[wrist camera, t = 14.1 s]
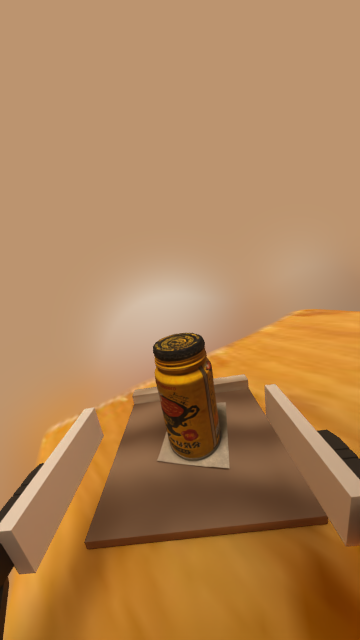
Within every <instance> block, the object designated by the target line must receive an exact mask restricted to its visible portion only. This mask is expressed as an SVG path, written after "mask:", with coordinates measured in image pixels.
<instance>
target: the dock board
mask: <svg viewBox="0 0 360 640" xmlns="http://www.w3.org/2000/svg"><path fill="white" fill-rule="evenodd" d="M213 381H214V389H215V396H216V403H220V402H226V416H227V433H228V450H229V467H230V469H229V468H221V467H205V466H195V465H185V464H177V463H169V462H163V461H157V459H158V457H159V454H160V451H161V447H162V445H163V441H164V438H165V435H166V432H167V429H166V426H165V420H164V416H163V411H162V408H161V402H160V398H159V393H158V390H157V387H152V388H145V389H138V390H135V391H134V393H133V400H134V407H133V410H132V412H131V415H130V418H129V421H128V424H127V426H126V429H125V432H124V435H123V437H122V440H121V443H120V446H119V448H118V451H117V454H116V457H115V459H114V462H113V465H112V468H111V470H110V473H109V476H108V479H107V481H106V484H105V487H104V490H103V492H102V495H101V498H100V501H99V503H98V506H97V509H96V512H95V514H94V517H93V520H92V523H91V525H90V528H89V531H88V534H87V536H86V539H85V542H84V543H85V545H86V547H87V549H94V548H103V547H112V546H122V545H131V544H140V543H150V542H159V541H168V540H178V539H187V538H196V537H206V536H215V535H224V534H234V533H243V532H252V531H262V530H271V529H281V528H290V527H299V526H309V525H318V524H327V523H328V516H327V515H326V513H325V511H324V510H323V508H322V506H321V505H320V503H319V502H318V500H317V498H316V497H315V495H314V493H313V492H312V490H311V489H310V487H309V485H308V484H307V482H306V480H305V479H304V477H303V476H302V474H301V472H300V471H299V469H298V467H297V466H296V464H295V462H294V461H293V459H292V458H291V456H290V454H289V453H288V451H287V449H286V448H285V446H284V445H283V443H282V441H281V440H280V438H279V436H278V435H277V433H276V432H275V430H274V428H273V427H272V425H271V424H270V422H269V420H268V419H267V417H266V416H265V414H264V412H263V411H262V409H261V408H260V406H259V404H258V403H257V401H256V400H255V398H254V396H253V395H252V393H251V392H250V390H249V388H248V379H247V378H246V376H245V375H237V376H230V377H223V378H216V379H213Z"/></svg>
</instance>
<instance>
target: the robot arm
mask: <svg viewBox="0 0 360 640" xmlns="http://www.w3.org/2000/svg"><path fill="white" fill-rule="evenodd" d="M265 404H266V417H267V418H268V420H269V422H270V423H271V425H272V427H273V428H274V430H275V431H276V433H277V435H278V436H279V438H280V440H281V441H282V443H283V445H284V446H285V448H286V449H287V451H288V453H289V454H290V456H291V458H292V459H293V461H294V462H295V464H296V466H297V467H298V469H299V471H300V472H301V474H302V476H303V477H304V479H305V480H306V482H307V484H308V485H309V487H310V489H311V490H312V492H313V493H314V495H315V497H316V498H317V500H318V502H319V503H320V505H321V506H322V508H323V510H324V511H325V513H326V515H327V516H328V518H329V520H330V521H331V523H332V524H333V526H334V528H335V529H336V531H337V533H338V534H339V536H340V537H341V539H342V541H343V542H344V544H345V546H357V545H360V459H359V458H358V456H357V455H356V454H355V453H354V452H353V451H352V450H350V449H349V447H348V446H347V445H346V444H345V443H344V442H343V441H342V440H341V439H340V438H339V437H337V436H336V435H334V434H333V433H331V432H330V431H328V430H320V431H316V430H315V429H314V427H313V426H312V425H311V424H310V423H309V422H308V421H307V420H306V418H305V417H304V416H303V415H302V414H301V413H300V412H299V410H298V409H297V408H296V407H295V406H294V405H293V404H292V403H291V401H290V400H289V399H288V398H287V397H286V396H285V395H284V394H283V392H282V391H281V390H280V389H279V388H278V387H277V386H276V385H275V384H272V385H265ZM102 438H103V433H102V430H101V427H100V423H99V420H98V417H97V414H96V411H95V408H88V409H84V411H83V412H82V413H81V415H80V416H79V417H78V419H77V420H76V422H75V423H74V424H73V426H72V427H71V428H70V430H69V431H68V432H67V434H66V435H65V436H64V438H63V439H62V440H61V442H60V443H59V444H58V446H57V447H56V448H55V450H54V451H53V452H52V454H51V455H50V456H49V458H48V459H47V461H46V462H45V463H42V464H39V465H38V466H37V467H36V468H35V469H34V470H33V471H32V472H31V473H30V474H29V475H28V476H27V478H26V479H25V480H24V482H23V483H22V484H21V486H20V487H19V488H18V489H17V491H16V492H15V493H14V495H13V497H11V498H10V499H9V501H8V502H7V503H6V505H5V506H4V507H3V508H2V510H1V511H0V640H3V632H4V624H5V615H6V606H7V597H8V589H9V580H8V575H9V573H10V572H11V570H12V568H13V567H15V568H16V570H17V572H18V573H19V574H27V573H36V571H37V569H38V567H39V565H40V563H41V561H42V559H43V557H44V555H45V553H46V551H47V549H48V547H49V545H50V543H51V541H52V539H53V537H54V535H55V533H56V531H57V529H58V527H59V525H60V523H61V521H62V519H63V517H64V515H65V513H66V511H67V509H68V507H69V505H70V503H71V501H72V499H73V497H74V495H75V493H76V491H77V489H78V487H79V485H80V482H81V480H82V478H83V476H84V474H85V472H86V470H87V468H88V466H89V464H90V462H91V460H92V458H93V456H94V454H95V452H96V450H97V448H98V446H99V444H100V442H101V440H102Z"/></svg>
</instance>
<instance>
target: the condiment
mask: <svg viewBox="0 0 360 640" xmlns="http://www.w3.org/2000/svg"><path fill="white" fill-rule="evenodd" d="M204 345H205V342H204V340H203V338H202V337H201V336H200V335H197V334H194V333H180V334H174V335H171V336H168V337H165V338H162V339H160V340H159V341H158V342H156V343H155V345H154V346H153V353H154V356H155V364H156V369H155V379H156V384H157V390H158V393H159V398H160V402H161V408H162V411H163V416H164V420H165V426H166V429H167V432H166V435H165V438H164V441H163V445H162V447H161V451H160V454H159V457H158V459H157V461H163V462H169V463H177V464H185V465H195V466H205V467H221V468H229V469H230V467H229V450H228V433H227V416H226V402H220V403H216V396H215V389H214V381H213V372H212V366H211V363H210V361H209V360H208V358H207V357H206V356H207V355H206V351H205V348H204V347H205V346H204Z"/></svg>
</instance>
